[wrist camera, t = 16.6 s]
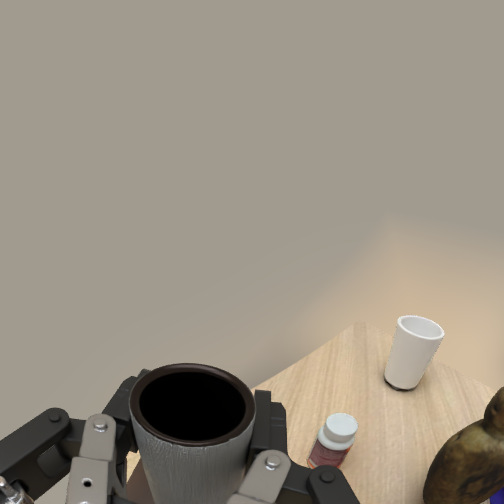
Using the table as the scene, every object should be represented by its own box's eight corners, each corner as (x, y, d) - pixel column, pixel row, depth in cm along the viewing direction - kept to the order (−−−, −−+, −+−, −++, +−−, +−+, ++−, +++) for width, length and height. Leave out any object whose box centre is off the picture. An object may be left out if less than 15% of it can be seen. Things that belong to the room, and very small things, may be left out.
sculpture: (477, 486, 19) (558, 377, 14) (472, 529, 12) (578, 419, 8) (405, 474, 26) (477, 359, 21) (390, 519, 19) (487, 407, 14)
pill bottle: (341, 474, 28) (364, 437, 26) (306, 473, 28) (324, 436, 26) (339, 449, 32) (358, 411, 30) (306, 448, 33) (322, 409, 31)
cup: (374, 365, 54) (392, 312, 51) (414, 369, 52) (434, 317, 49) (381, 394, 44) (404, 336, 41) (425, 397, 42) (452, 340, 39)
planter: (222, 477, 14) (236, 358, 12) (244, 532, 10) (276, 435, 8) (153, 483, 13) (129, 361, 10) (164, 541, 9) (128, 449, 6)
